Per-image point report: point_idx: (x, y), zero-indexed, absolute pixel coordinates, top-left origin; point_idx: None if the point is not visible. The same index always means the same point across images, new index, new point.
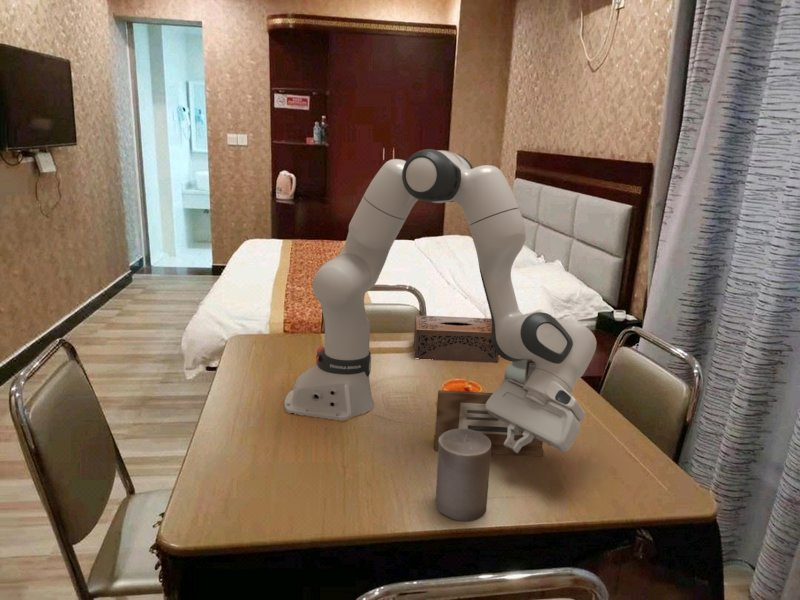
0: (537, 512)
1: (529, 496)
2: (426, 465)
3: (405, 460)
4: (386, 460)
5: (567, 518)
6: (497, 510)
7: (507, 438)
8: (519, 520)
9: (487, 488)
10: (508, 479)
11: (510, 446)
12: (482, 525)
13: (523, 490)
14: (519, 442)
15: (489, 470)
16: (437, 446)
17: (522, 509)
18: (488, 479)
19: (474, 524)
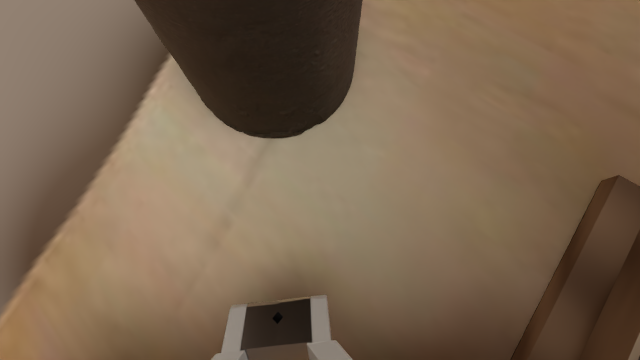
0: (104, 253)
1: (179, 299)
2: (517, 98)
3: (573, 55)
4: (595, 5)
5: (14, 324)
6: (192, 144)
7: (321, 328)
8: (117, 170)
9: (171, 54)
10: None
11: (269, 303)
12: (170, 63)
13: (218, 308)
14: (215, 356)
15: (150, 19)
16: (614, 183)
17: (146, 219)
18: (155, 31)
19: None
